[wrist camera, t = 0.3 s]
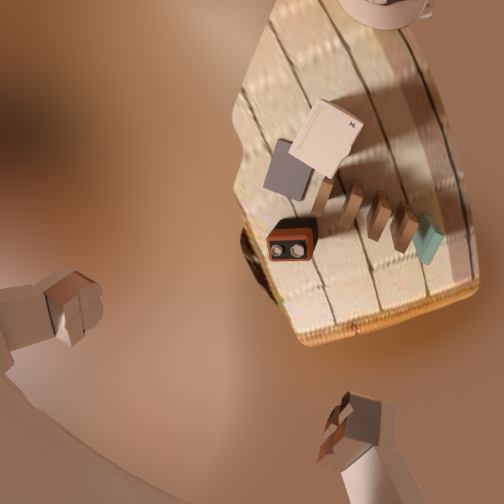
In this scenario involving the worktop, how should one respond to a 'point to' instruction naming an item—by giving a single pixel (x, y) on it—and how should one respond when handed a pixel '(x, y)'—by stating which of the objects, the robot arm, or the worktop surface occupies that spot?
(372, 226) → the domino
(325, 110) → the skincare box
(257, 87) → the worktop surface
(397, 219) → the domino
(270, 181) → the pad
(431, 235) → the domino end
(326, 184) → the domino
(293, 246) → the battery
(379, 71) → the worktop surface
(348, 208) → the domino
